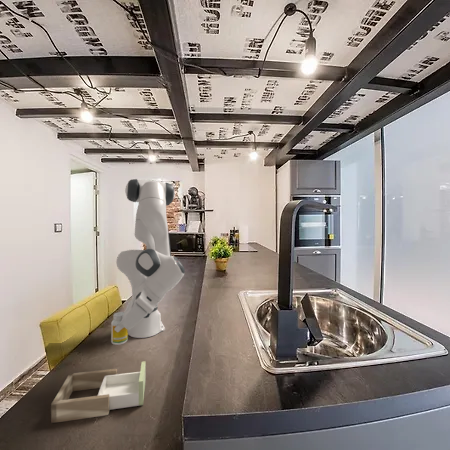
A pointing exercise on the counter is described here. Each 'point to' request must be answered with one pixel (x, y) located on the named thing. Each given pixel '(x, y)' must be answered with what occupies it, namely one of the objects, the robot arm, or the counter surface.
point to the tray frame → (81, 406)
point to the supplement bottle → (122, 335)
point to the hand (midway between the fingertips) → (117, 326)
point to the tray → (124, 388)
